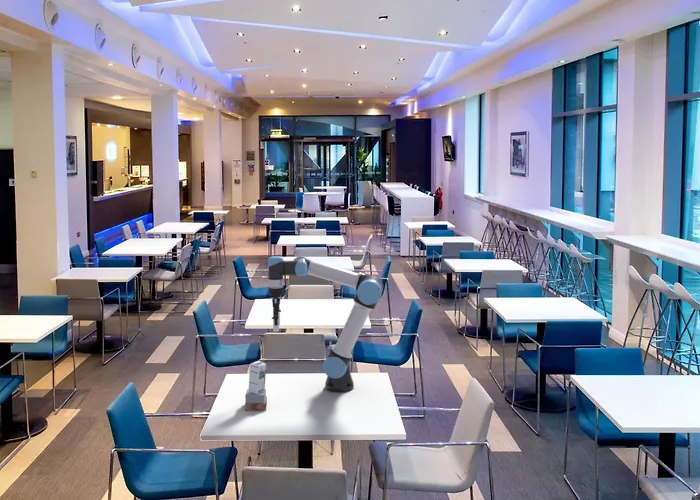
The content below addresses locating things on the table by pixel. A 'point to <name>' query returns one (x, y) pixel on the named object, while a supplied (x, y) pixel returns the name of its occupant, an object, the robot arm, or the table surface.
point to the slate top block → (255, 397)
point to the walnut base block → (256, 406)
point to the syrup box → (257, 377)
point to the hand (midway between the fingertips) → (276, 328)
